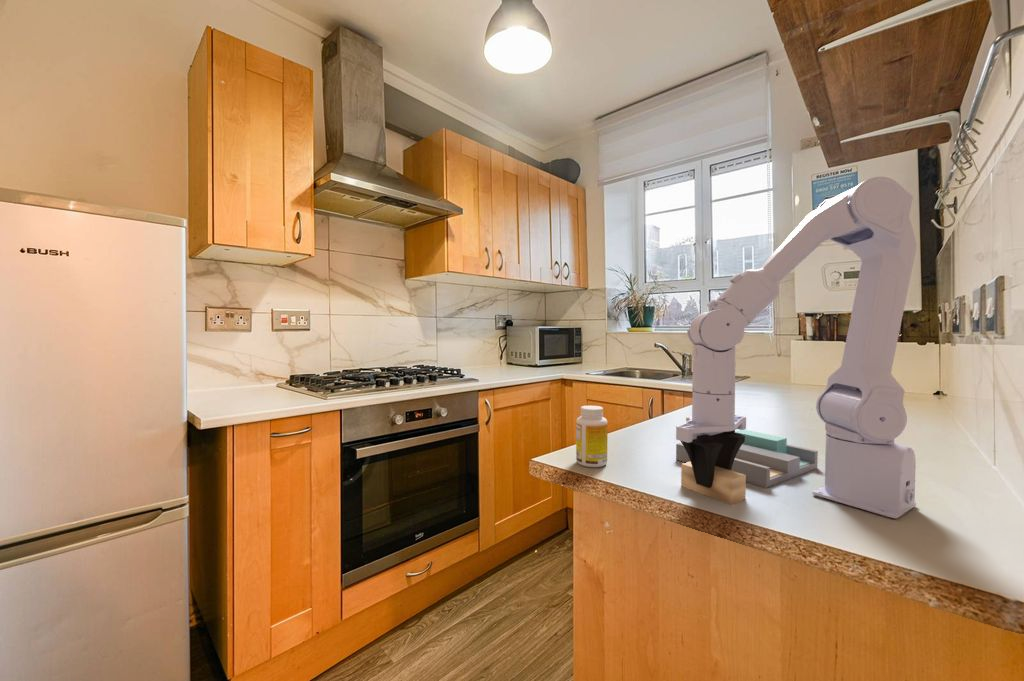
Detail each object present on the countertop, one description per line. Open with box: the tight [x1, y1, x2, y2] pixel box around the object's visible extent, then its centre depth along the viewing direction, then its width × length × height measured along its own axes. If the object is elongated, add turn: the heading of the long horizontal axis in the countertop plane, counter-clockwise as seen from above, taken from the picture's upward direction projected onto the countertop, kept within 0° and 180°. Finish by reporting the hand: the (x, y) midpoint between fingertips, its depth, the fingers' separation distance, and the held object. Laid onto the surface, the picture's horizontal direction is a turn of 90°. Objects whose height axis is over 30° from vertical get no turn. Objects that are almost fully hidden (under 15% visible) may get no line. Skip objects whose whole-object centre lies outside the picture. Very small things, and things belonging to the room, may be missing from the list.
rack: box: [675, 442, 819, 489], centre depth 75 cm, size 16×17×3 cm
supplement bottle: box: [575, 404, 608, 468], centre depth 76 cm, size 6×6×10 cm
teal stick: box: [735, 429, 788, 454], centre depth 78 cm, size 8×4×4 cm, turn 32°
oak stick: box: [680, 461, 747, 506], centre depth 62 cm, size 8×4×4 cm, turn 32°
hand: (712, 482), depth 62 cm, fingers closed on oak stick, 3 cm apart
